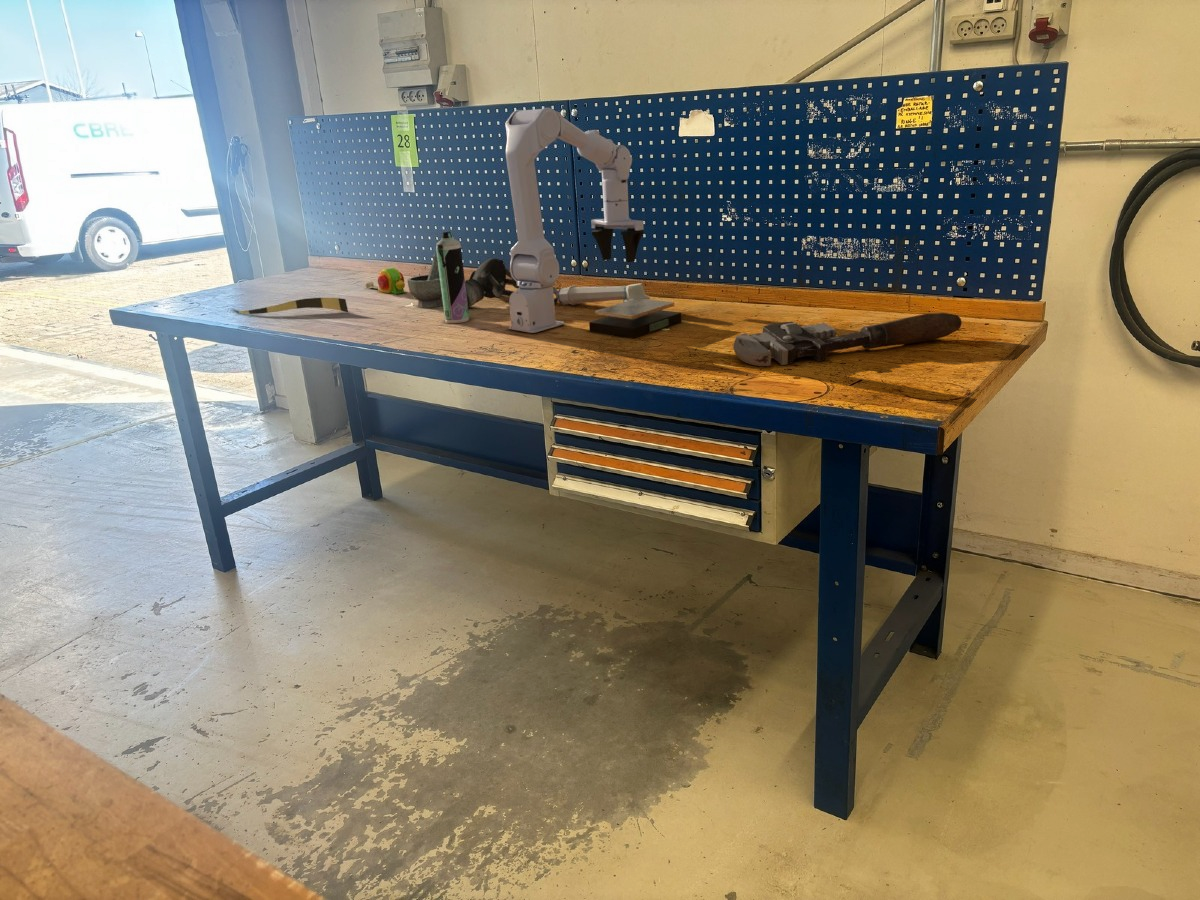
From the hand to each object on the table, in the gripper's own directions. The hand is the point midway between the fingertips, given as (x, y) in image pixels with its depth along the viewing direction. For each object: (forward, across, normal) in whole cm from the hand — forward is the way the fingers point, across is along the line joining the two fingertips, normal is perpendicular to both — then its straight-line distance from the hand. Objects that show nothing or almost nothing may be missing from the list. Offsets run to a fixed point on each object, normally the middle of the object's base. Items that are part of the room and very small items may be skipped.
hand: (618, 260), depth 200 cm
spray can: (+10, +21, +33) cm, 40 cm away
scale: (+10, -19, +17) cm, 27 cm away
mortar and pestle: (+10, +43, +24) cm, 50 cm away
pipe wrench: (+10, -64, +10) cm, 66 cm away
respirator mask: (+10, +25, +13) cm, 30 cm away
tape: (+10, +72, +48) cm, 88 cm away
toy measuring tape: (+10, +72, +18) cm, 75 cm away
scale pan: (+7, -19, +17) cm, 27 cm away
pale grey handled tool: (+10, 0, +6) cm, 12 cm away
